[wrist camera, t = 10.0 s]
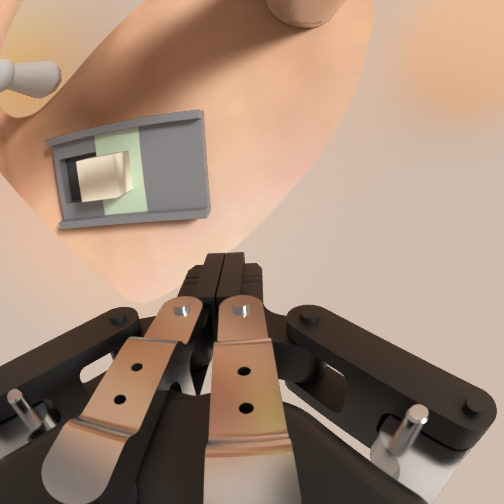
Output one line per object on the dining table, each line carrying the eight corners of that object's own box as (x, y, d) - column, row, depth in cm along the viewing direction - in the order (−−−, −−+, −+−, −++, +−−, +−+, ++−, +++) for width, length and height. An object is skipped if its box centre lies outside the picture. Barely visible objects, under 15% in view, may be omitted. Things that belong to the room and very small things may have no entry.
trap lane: (59, 137, 35) (45, 140, 32) (203, 111, 34) (198, 109, 31) (72, 221, 40) (60, 229, 37) (210, 210, 40) (206, 218, 36)
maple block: (95, 156, 35) (76, 161, 30) (128, 150, 34) (111, 154, 30) (100, 192, 37) (82, 202, 32) (133, 188, 36) (117, 197, 32)
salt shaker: (46, 106, 33) (-13, 109, 21) (33, 81, 31) (-25, 79, 19) (72, 79, 32) (13, 72, 20) (57, 54, 30) (0, 43, 18)
